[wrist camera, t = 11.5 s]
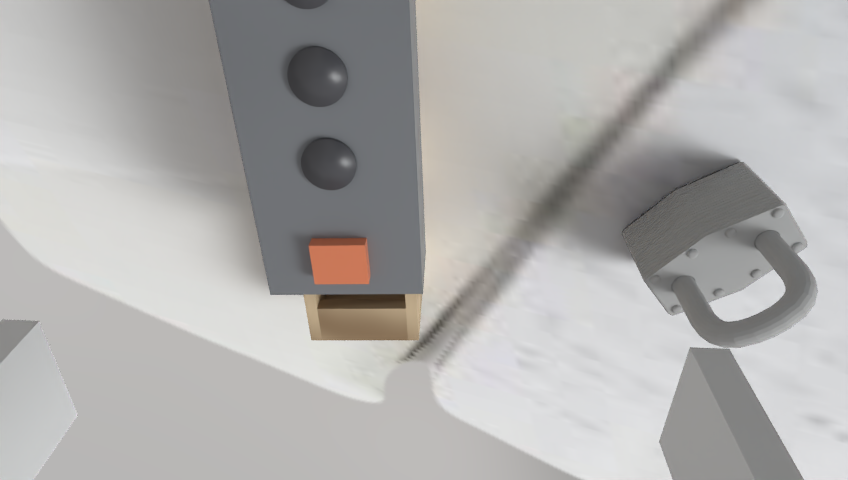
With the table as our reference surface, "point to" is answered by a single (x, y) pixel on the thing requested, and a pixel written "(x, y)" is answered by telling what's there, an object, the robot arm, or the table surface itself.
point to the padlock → (723, 254)
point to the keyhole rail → (364, 316)
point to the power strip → (329, 140)
